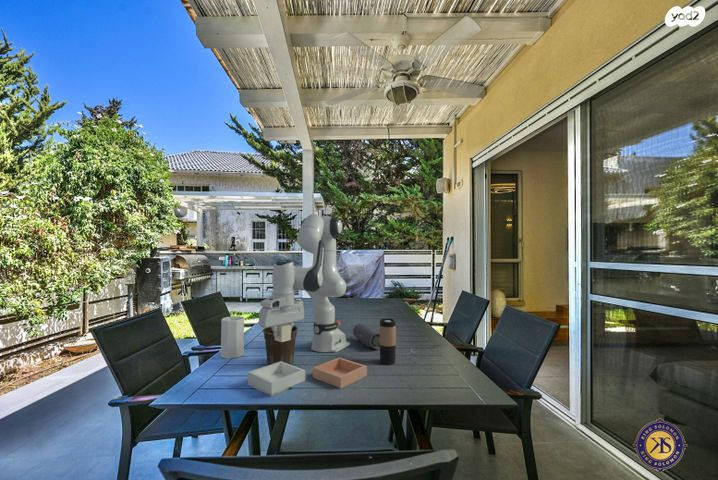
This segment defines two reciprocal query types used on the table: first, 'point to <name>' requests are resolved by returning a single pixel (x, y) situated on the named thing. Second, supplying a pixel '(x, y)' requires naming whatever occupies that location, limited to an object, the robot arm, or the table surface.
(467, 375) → the table surface
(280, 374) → the light grey bin
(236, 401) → the table surface
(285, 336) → the sandstone block
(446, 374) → the table surface
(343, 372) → the terracotta bin
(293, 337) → the plant pot
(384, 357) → the travel mug
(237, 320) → the cup
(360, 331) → the bluetooth speaker
